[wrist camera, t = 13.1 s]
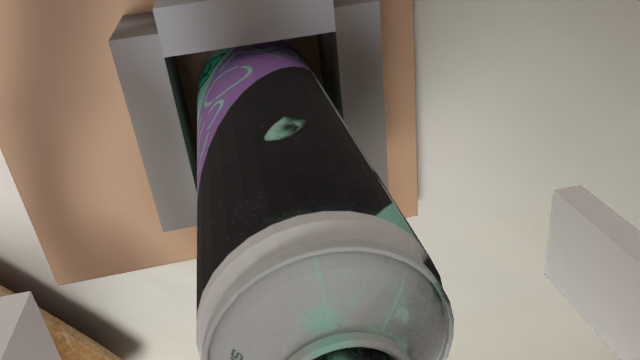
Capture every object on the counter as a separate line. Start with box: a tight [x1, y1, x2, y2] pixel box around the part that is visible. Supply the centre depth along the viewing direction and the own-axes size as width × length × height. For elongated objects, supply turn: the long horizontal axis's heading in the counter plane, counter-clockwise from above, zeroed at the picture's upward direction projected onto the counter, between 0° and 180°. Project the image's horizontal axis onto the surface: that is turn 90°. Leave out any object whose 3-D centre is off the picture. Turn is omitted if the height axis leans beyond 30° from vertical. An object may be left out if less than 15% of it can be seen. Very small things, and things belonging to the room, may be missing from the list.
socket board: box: [0, 0, 418, 286], centre depth 26 cm, size 20×16×6 cm
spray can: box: [197, 39, 454, 360], centre depth 18 cm, size 6×6×20 cm
